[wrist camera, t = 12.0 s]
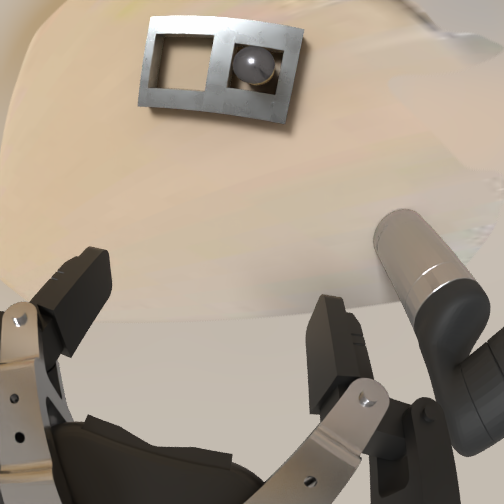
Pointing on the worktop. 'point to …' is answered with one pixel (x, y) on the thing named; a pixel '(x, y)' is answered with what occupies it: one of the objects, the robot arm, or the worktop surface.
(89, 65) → the worktop surface
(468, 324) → the robot arm
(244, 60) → the gold and grey cylinder
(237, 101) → the grey fitting block
